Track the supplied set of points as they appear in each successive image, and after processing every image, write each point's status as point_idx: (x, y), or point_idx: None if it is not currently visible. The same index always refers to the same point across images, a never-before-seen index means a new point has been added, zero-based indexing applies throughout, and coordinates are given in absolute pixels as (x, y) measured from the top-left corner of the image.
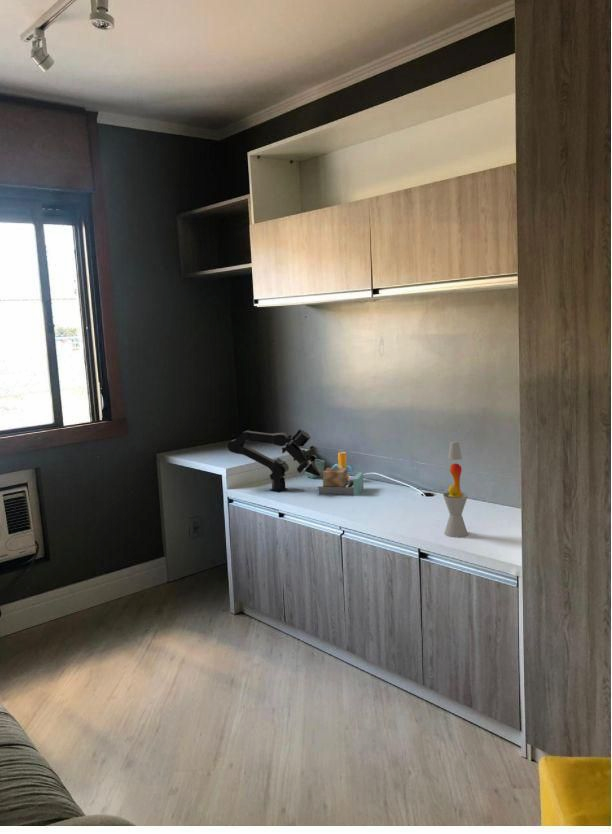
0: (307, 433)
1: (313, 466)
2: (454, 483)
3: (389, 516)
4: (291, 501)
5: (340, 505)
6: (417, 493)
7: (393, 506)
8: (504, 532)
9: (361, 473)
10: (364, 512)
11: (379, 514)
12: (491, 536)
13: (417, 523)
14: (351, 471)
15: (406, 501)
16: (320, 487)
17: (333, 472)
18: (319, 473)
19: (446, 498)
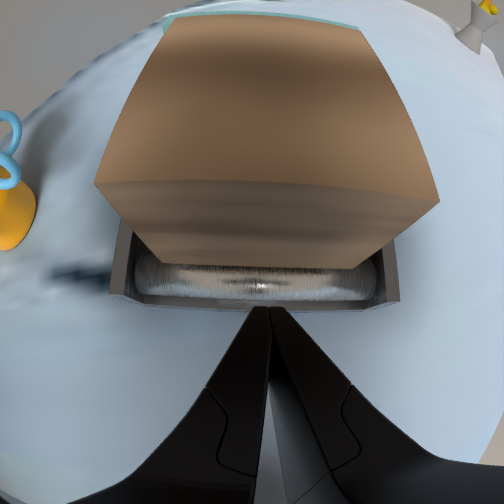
0: None
1: (386, 465)
2: (490, 1)
3: (469, 77)
4: (488, 407)
5: (479, 165)
6: (259, 3)
7: (407, 48)
8: (431, 14)
9: (200, 13)
10: (483, 111)
11: (473, 88)
12: (450, 26)
13: (467, 58)
14: (20, 123)
15: (350, 22)
16: (396, 282)
17: (390, 83)
18: (276, 317)
19: (497, 22)
